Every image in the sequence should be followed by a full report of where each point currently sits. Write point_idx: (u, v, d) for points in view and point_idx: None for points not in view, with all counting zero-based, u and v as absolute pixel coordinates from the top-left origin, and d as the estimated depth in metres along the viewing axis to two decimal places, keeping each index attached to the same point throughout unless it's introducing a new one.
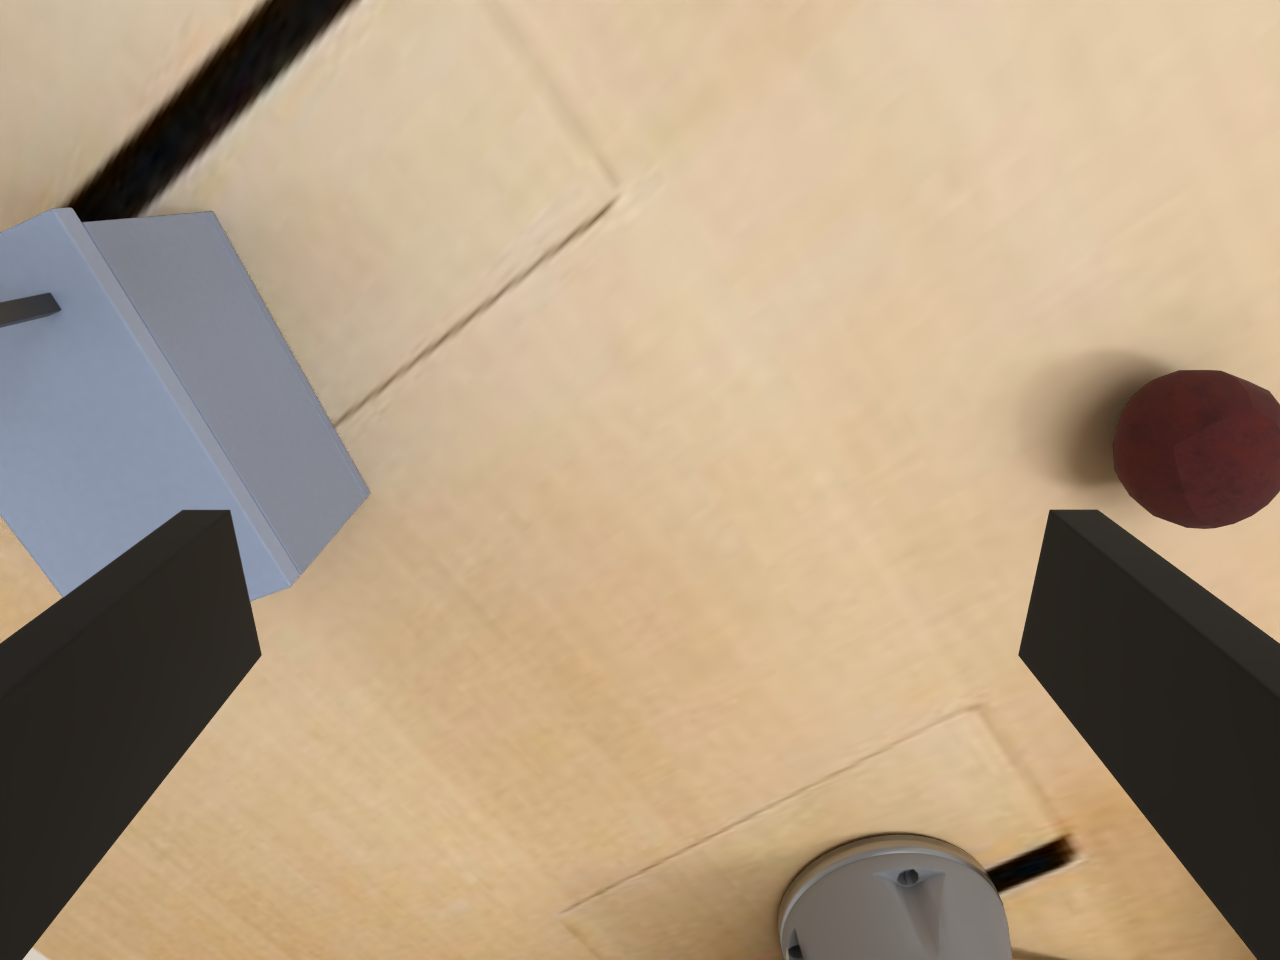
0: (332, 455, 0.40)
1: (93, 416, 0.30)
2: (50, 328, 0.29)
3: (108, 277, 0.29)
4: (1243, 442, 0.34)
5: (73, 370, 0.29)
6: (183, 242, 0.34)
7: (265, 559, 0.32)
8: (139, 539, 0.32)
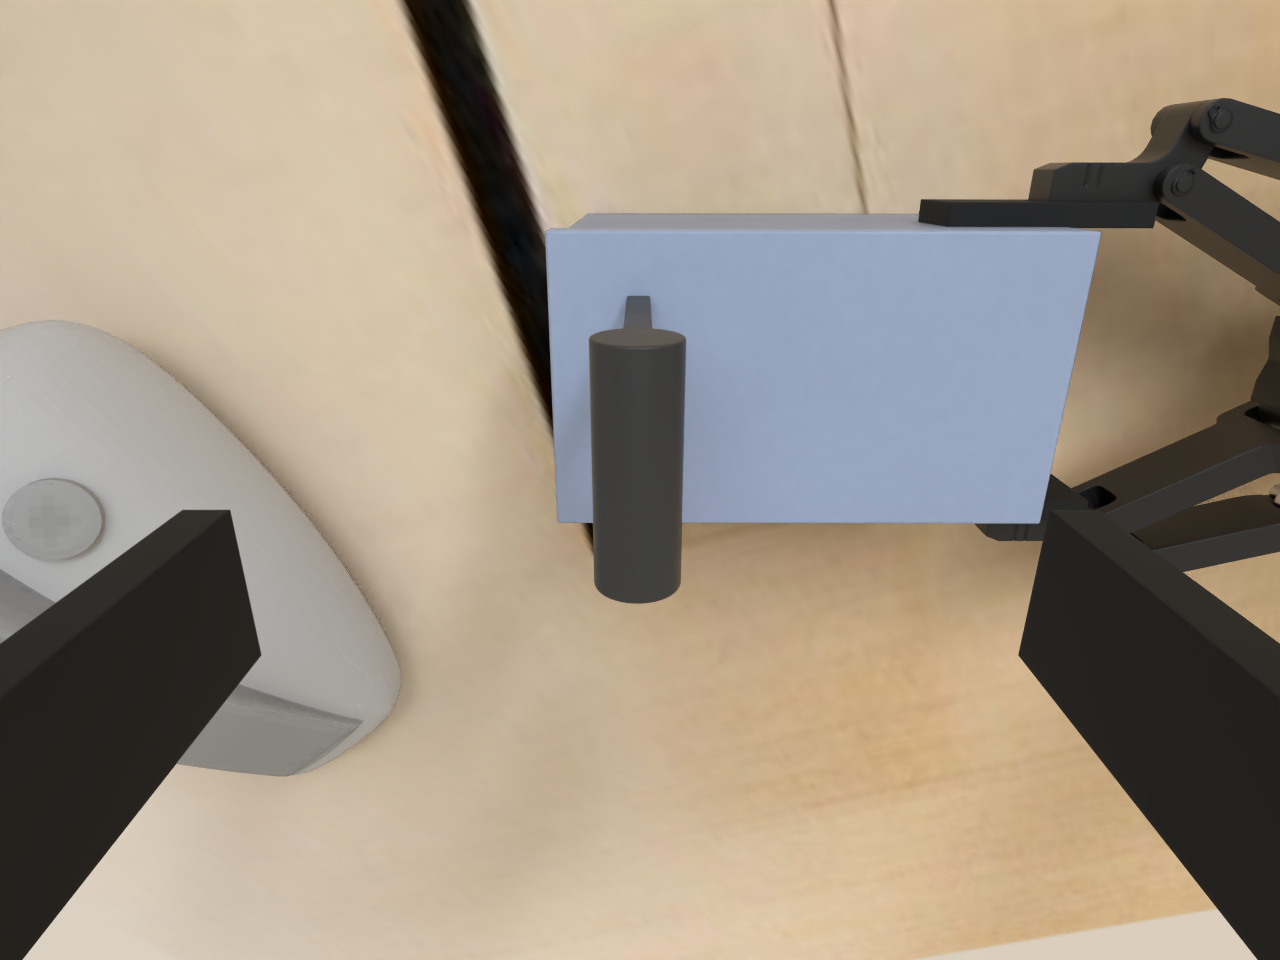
0: (905, 215, 0.31)
1: (774, 342, 0.24)
2: (663, 323, 0.23)
3: (635, 229, 0.23)
4: None
5: (716, 329, 0.24)
6: (613, 218, 0.28)
7: (1048, 242, 0.23)
8: (935, 387, 0.24)
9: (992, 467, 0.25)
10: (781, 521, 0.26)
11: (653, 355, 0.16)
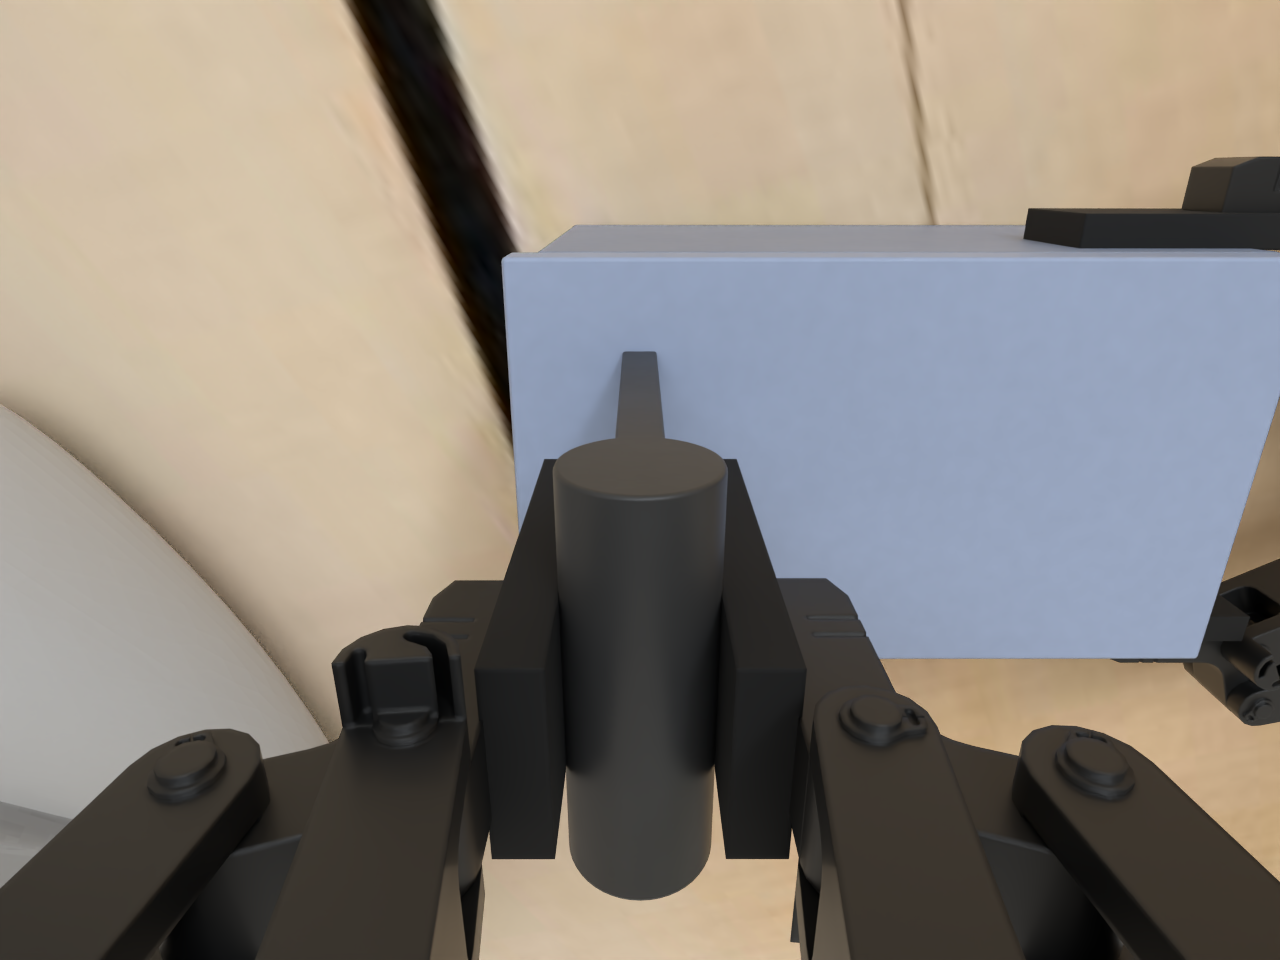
0: (989, 228, 0.23)
1: (836, 416, 0.16)
2: (675, 390, 0.16)
3: (635, 254, 0.16)
4: None
5: (753, 398, 0.16)
6: (606, 233, 0.21)
7: (1243, 273, 0.15)
8: (1064, 478, 0.17)
9: (1137, 585, 0.18)
10: None
11: (670, 510, 0.08)
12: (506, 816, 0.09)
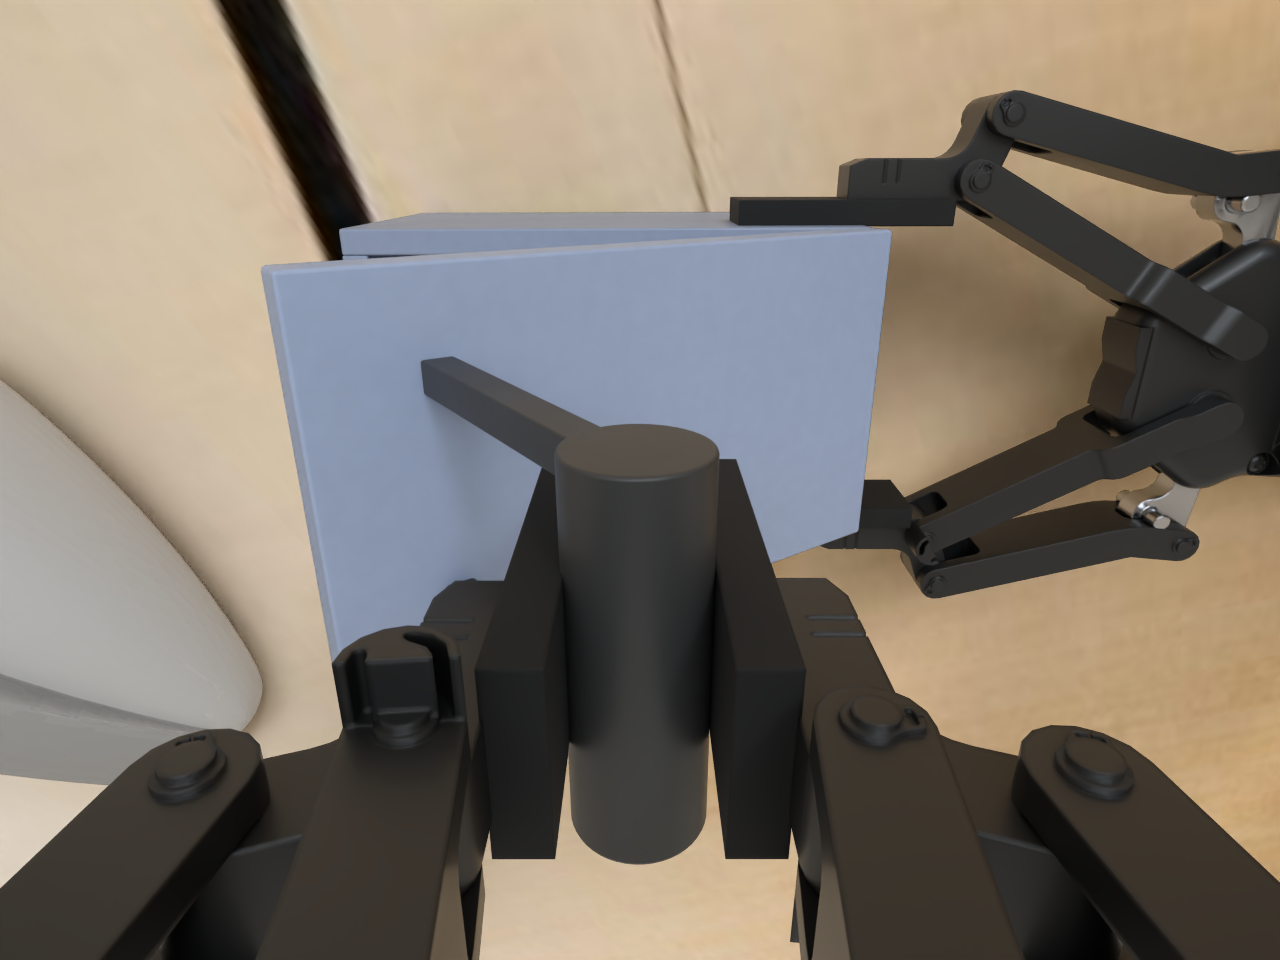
0: None
1: (615, 394, 0.18)
2: None
3: (411, 258, 0.15)
4: None
5: (546, 389, 0.17)
6: (427, 218, 0.28)
7: (855, 243, 0.21)
8: (773, 415, 0.21)
9: (822, 487, 0.23)
10: None
11: (705, 479, 0.09)
12: (506, 816, 0.09)
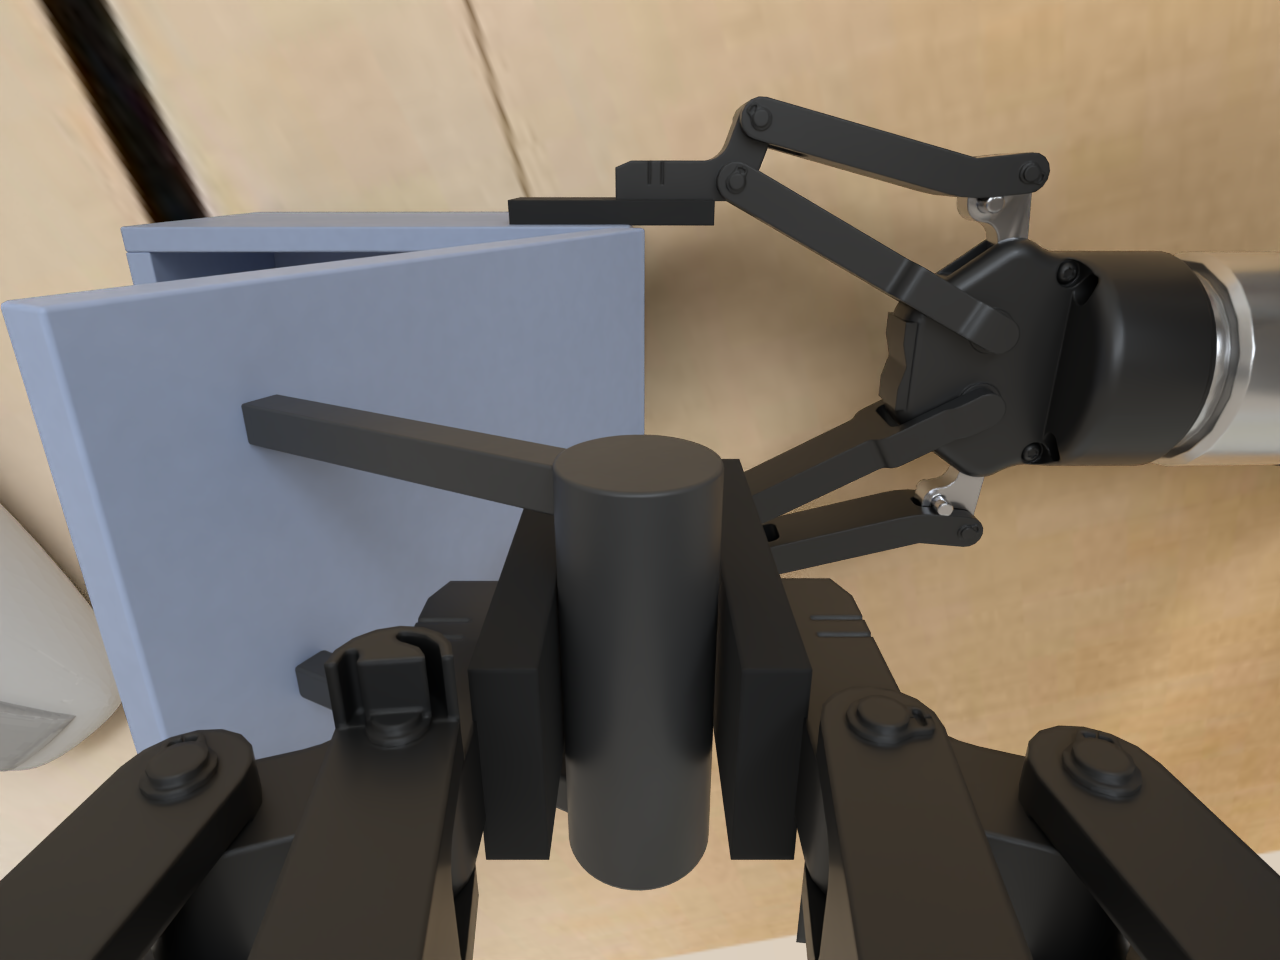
0: None
1: (441, 415, 0.17)
2: None
3: (206, 279, 0.12)
4: None
5: None
6: (242, 216, 0.29)
7: (620, 242, 0.22)
8: (574, 416, 0.21)
9: None
10: None
11: (722, 480, 0.09)
12: (500, 816, 0.09)
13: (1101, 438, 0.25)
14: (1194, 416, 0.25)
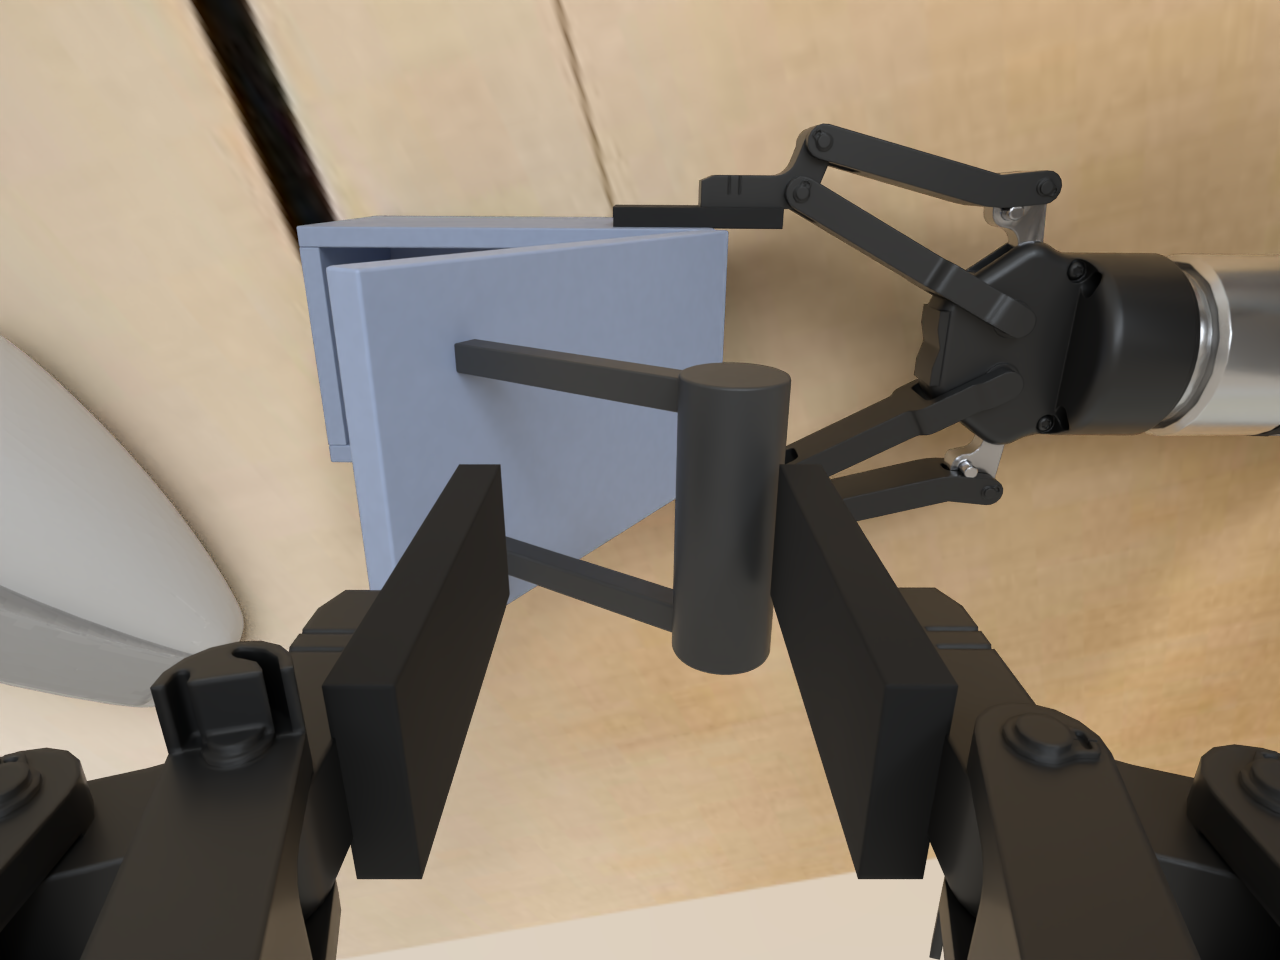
0: None
1: None
2: None
3: (435, 257, 0.18)
4: None
5: None
6: (375, 219, 0.34)
7: (709, 241, 0.27)
8: None
9: None
10: (591, 550, 0.25)
11: (789, 388, 0.14)
12: (368, 835, 0.09)
13: (1105, 408, 0.30)
14: (1182, 390, 0.29)
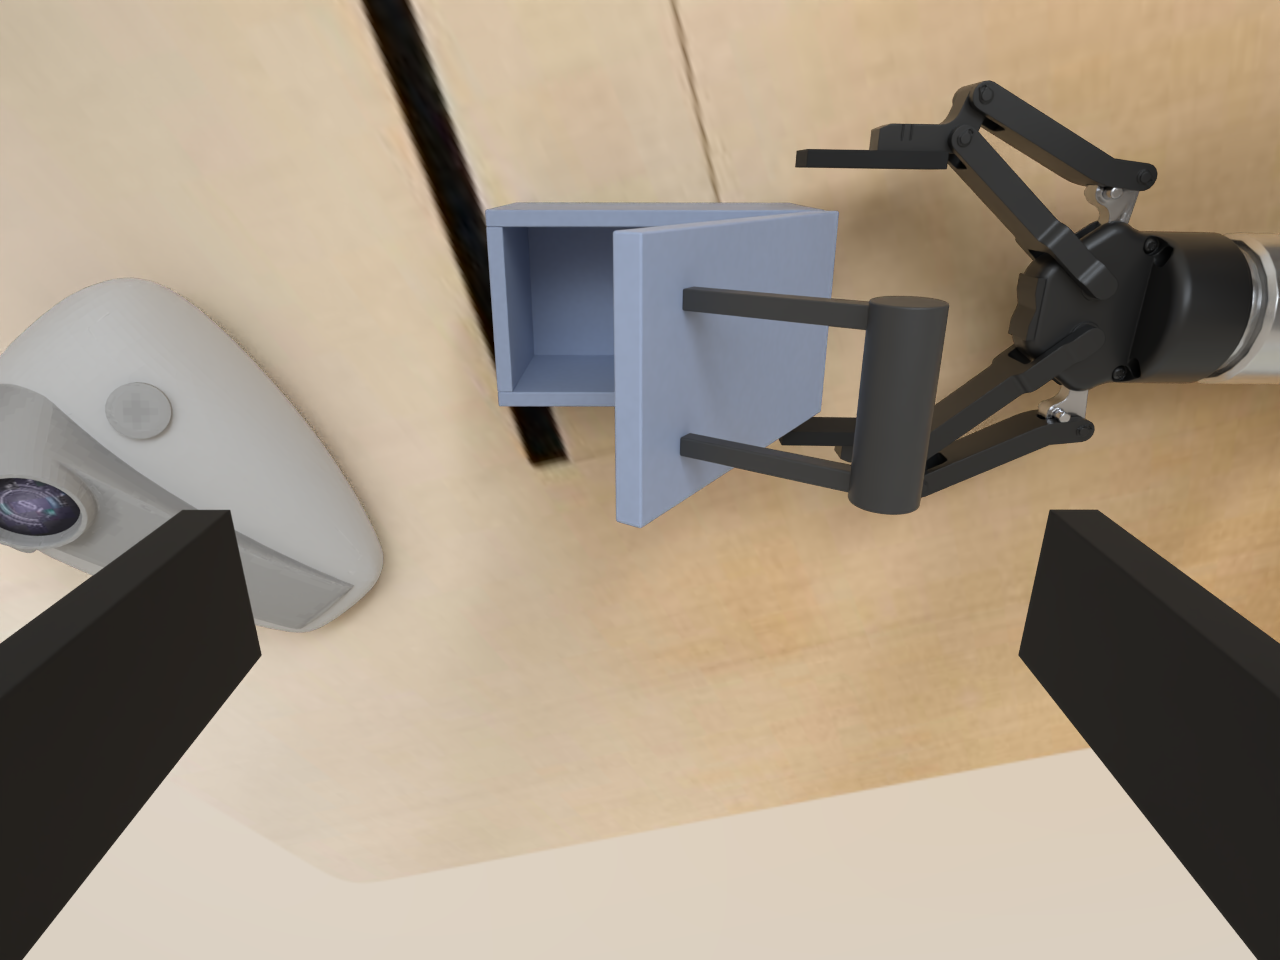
0: None
1: None
2: None
3: (671, 226, 0.24)
4: None
5: None
6: (527, 205, 0.41)
7: (826, 219, 0.34)
8: (794, 329, 0.33)
9: (809, 379, 0.36)
10: None
11: (947, 310, 0.21)
12: None
13: (1173, 357, 0.37)
14: (1236, 342, 0.36)
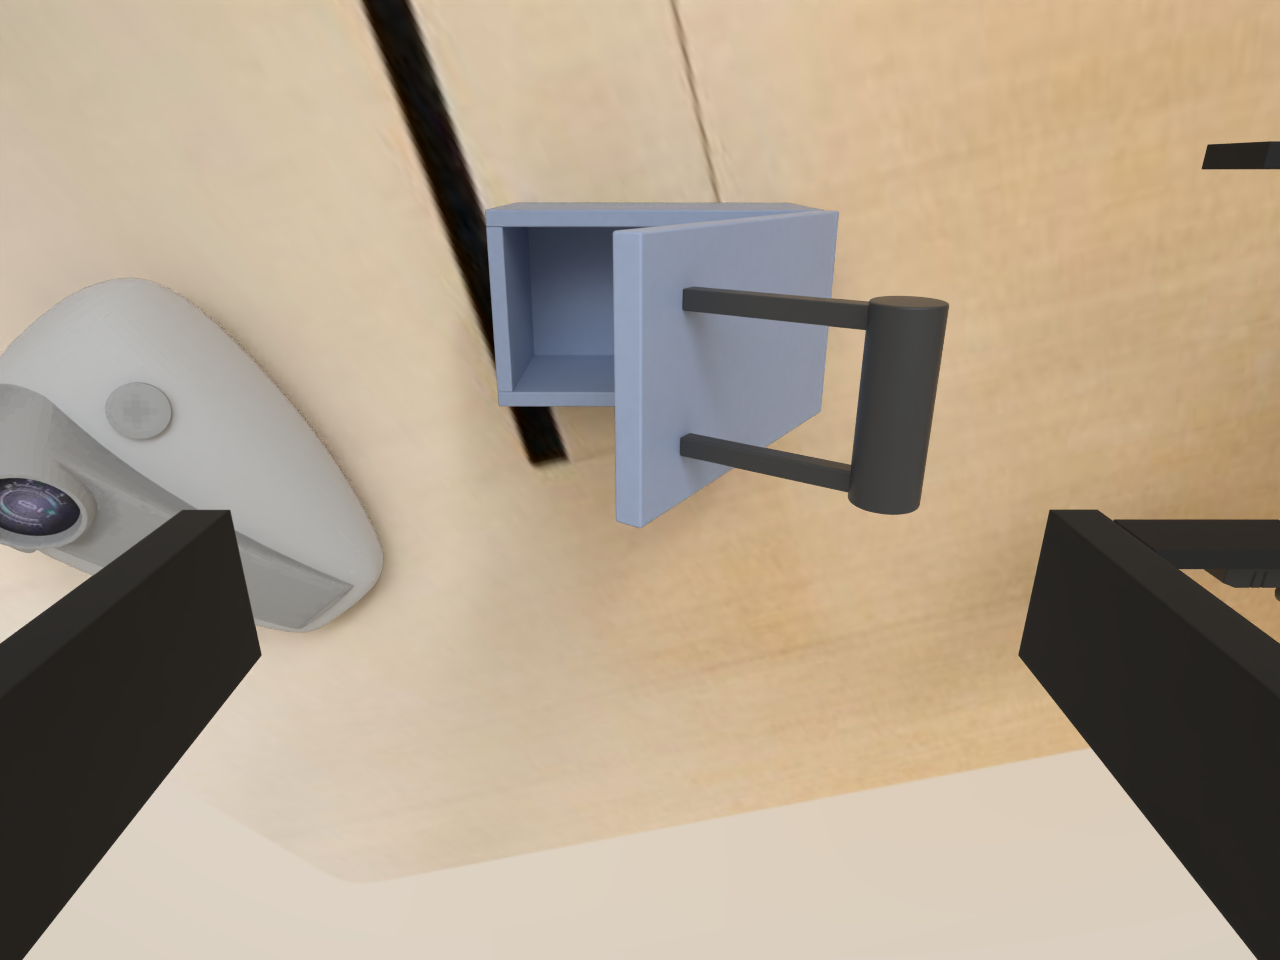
0: None
1: None
2: None
3: (671, 226, 0.24)
4: None
5: None
6: (527, 205, 0.41)
7: (826, 219, 0.34)
8: (794, 329, 0.33)
9: (809, 379, 0.36)
10: None
11: (947, 310, 0.21)
12: None
13: None
14: None
